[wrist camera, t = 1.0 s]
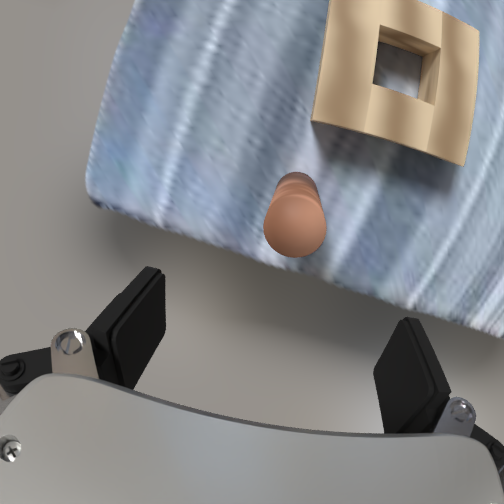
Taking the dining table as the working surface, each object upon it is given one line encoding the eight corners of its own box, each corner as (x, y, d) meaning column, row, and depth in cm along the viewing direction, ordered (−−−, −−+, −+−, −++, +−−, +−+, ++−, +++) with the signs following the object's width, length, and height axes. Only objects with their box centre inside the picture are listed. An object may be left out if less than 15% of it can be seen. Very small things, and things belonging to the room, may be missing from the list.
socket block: (458, 39, 20) (479, 31, 16) (443, 159, 27) (463, 166, 23) (330, -6, 21) (334, -25, 17) (310, 120, 28) (312, 119, 24)
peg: (320, 176, 31) (333, 205, 20) (312, 215, 33) (318, 262, 22) (279, 168, 31) (269, 192, 20) (272, 207, 33) (258, 250, 22)
